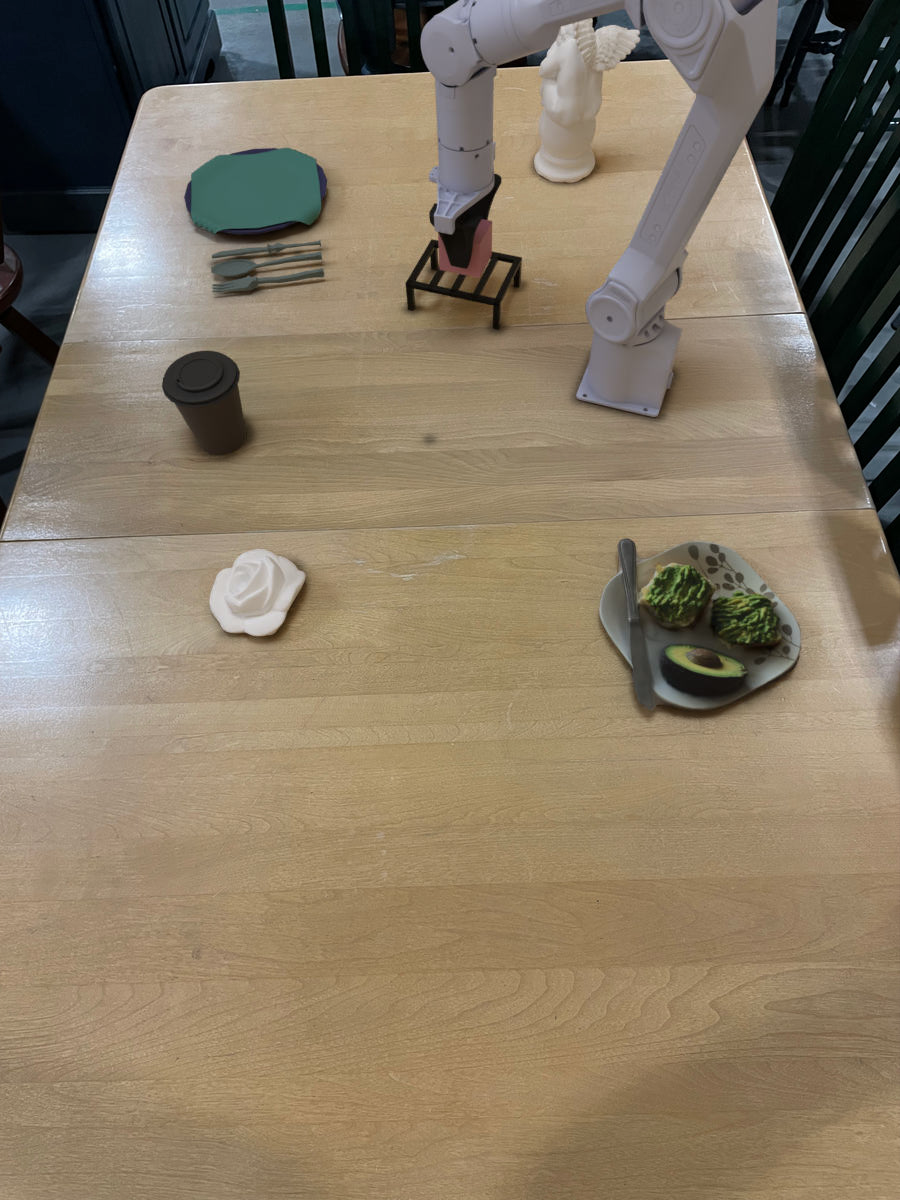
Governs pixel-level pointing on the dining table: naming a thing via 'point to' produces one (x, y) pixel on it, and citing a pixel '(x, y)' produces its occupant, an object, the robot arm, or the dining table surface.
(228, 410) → the coffee cup
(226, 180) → the cutlery set
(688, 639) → the avocado toast plate
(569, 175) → the cherub figurine
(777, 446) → the dining table surface
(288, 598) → the rose
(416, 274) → the rack
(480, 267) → the pink box
